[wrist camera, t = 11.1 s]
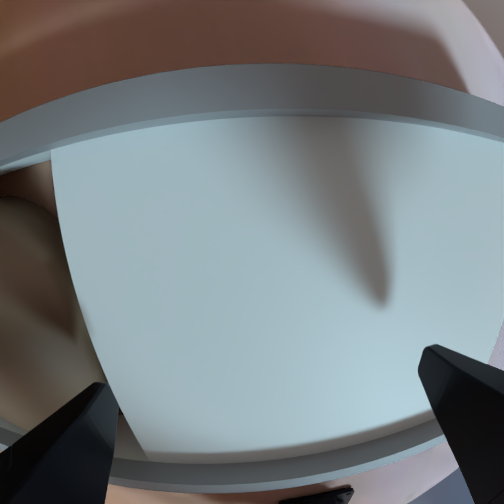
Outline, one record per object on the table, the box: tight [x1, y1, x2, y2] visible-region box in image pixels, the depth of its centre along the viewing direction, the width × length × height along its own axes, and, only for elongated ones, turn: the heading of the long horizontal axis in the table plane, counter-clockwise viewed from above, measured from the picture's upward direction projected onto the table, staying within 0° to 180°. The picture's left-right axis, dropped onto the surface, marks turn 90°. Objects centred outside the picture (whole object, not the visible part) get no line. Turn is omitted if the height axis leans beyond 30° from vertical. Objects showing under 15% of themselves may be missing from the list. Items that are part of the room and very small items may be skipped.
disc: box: [0, 196, 107, 432], centre depth 9 cm, size 11×11×4 cm
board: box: [0, 63, 504, 493], centre depth 9 cm, size 15×31×5 cm, turn 93°
